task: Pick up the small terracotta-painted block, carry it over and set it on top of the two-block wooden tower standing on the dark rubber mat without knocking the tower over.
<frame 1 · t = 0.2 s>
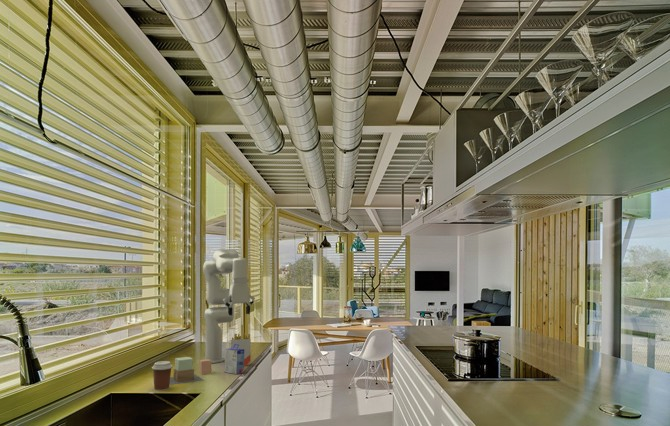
hand: (239, 314, 248), 31 cm above the worktop, tool pointing down, fingers open, 9 cm apart
coffee cup: (161, 390, 217), on the worktop
french fries container: (240, 366, 269), on the worktop
block top: (183, 368, 236), point 5 cm above the worktop, touching block bottom
block pick: (205, 374, 248), on the worktop
mat: (183, 380, 235), on the worktop
ink cartridge box: (234, 373, 251), on the worktop
block bottom: (183, 379, 235), resting on mat, touching block top
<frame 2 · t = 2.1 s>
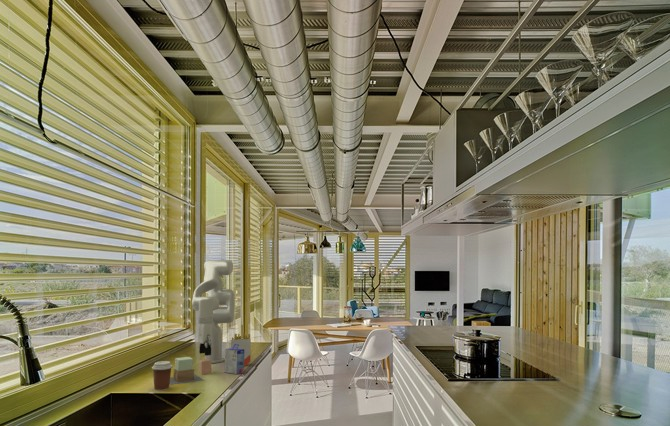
hand: (205, 354, 249), 10 cm above the worktop, tool pointing down, fingers open, 9 cm apart
nothing on the worktop moved.
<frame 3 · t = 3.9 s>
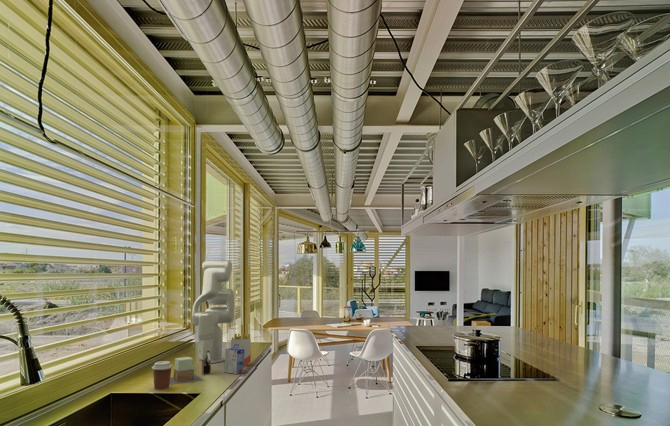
hand: (205, 372, 249), 1 cm above the worktop, tool pointing down, fingers closed on block pick, 5 cm apart
block pick: (205, 373, 248), on the worktop, touching gripper
everything else where it was.
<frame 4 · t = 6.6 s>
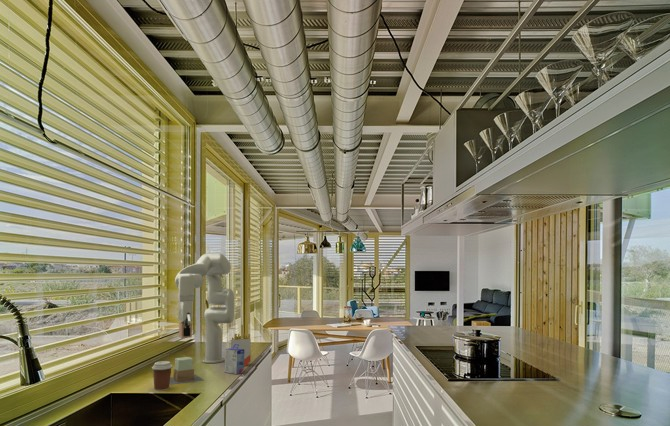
hand: (185, 335, 238), 22 cm above the worktop, tool pointing down, fingers closed on block pick, 5 cm apart
block pick: (185, 337, 238), point 21 cm above the worktop, touching gripper
everything else where it was.
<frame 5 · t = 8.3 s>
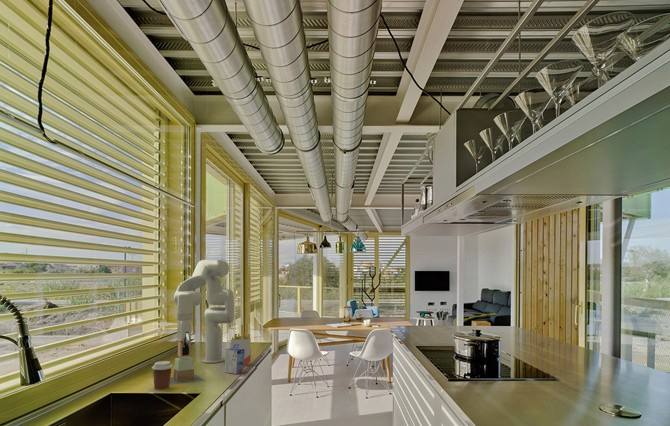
hand: (184, 354, 236), 13 cm above the worktop, tool pointing down, fingers closed on block pick, 5 cm apart
block pick: (184, 356, 236), point 12 cm above the worktop, touching gripper
everything else where it was.
when the fingers open (12 cm above the worktop, at t = 9.4 s): block pick stays where it is, resting on block top.
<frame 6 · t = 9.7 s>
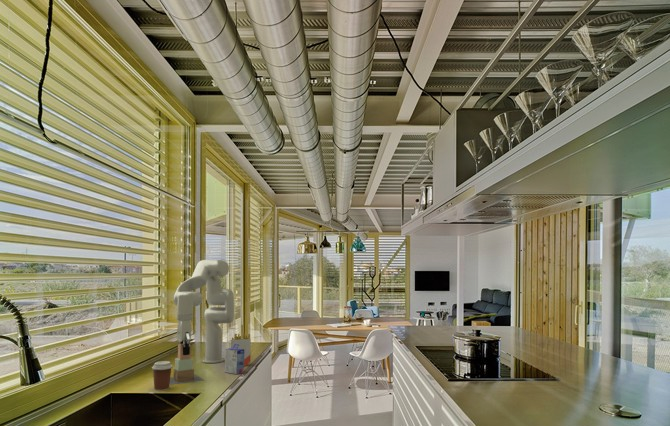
hand: (184, 353, 236), 13 cm above the worktop, tool pointing down, fingers open, 7 cm apart
block top: (183, 368, 236), point 5 cm above the worktop, touching block bottom, block pick
block pick: (184, 358, 236), point 10 cm above the worktop, touching block top
everything else where it was.
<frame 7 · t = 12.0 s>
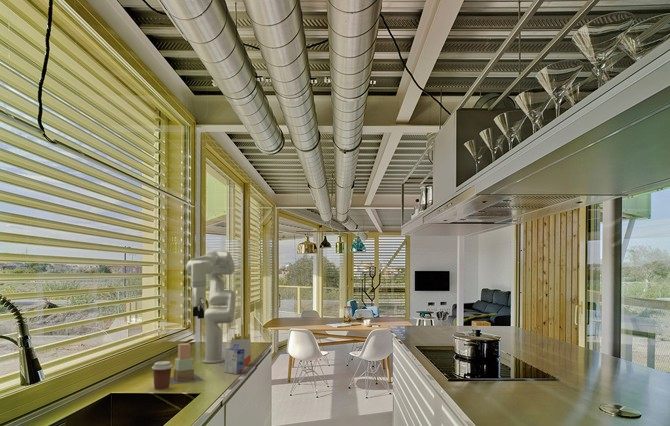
hand: (198, 317, 250), 29 cm above the worktop, tool pointing down, fingers open, 9 cm apart
nothing on the worktop moved.
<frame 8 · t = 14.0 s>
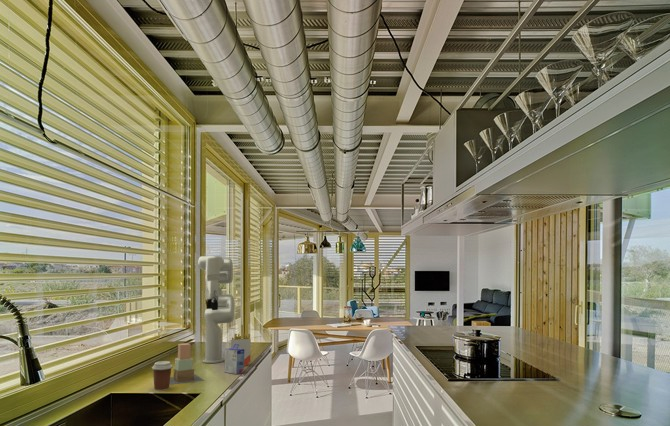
hand: (212, 309, 263), 32 cm above the worktop, tool pointing down, fingers open, 9 cm apart
nothing on the worktop moved.
at the end: block pick 0.1 cm off-centre on the block bottom, point 10.0 cm above the block bottom's base; block pick tilted 0°; block top moved 0.1 cm from its start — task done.
